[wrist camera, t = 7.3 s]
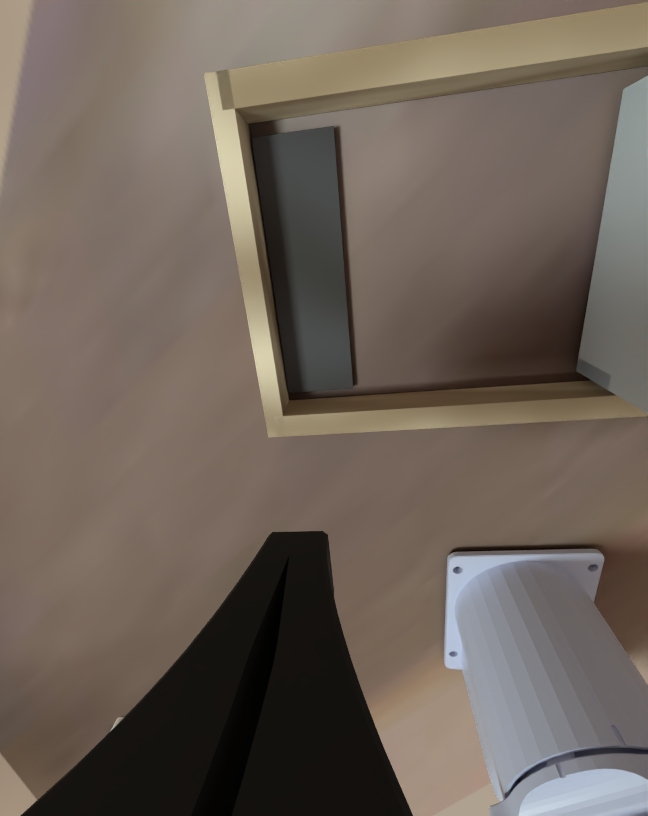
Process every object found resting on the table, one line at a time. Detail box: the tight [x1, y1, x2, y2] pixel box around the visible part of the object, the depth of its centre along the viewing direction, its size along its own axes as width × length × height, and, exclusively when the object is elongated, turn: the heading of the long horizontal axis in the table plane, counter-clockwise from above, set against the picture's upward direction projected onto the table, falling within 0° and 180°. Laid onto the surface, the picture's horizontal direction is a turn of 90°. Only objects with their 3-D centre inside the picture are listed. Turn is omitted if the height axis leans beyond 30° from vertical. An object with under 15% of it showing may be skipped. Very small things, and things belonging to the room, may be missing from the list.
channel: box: [204, 2, 648, 437], centre depth 14 cm, size 13×24×3 cm, turn 96°
